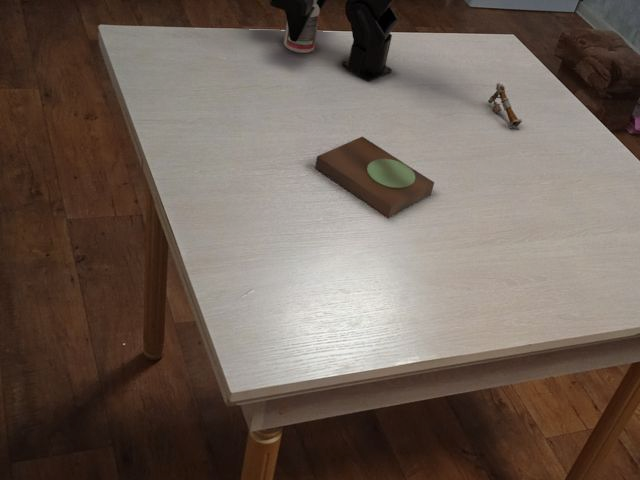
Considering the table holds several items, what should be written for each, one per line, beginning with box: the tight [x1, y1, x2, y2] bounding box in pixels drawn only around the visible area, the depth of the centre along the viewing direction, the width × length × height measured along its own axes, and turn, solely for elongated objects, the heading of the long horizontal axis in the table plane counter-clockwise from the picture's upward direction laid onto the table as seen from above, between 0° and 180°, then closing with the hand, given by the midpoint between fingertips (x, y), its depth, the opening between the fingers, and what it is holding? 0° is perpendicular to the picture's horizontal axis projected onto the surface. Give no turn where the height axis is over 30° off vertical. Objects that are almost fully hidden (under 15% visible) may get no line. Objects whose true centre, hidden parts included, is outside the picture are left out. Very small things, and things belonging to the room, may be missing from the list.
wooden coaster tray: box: [314, 136, 435, 218], centre depth 118 cm, size 10×14×2 cm
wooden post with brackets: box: [487, 82, 523, 129], centre depth 140 cm, size 2×8×4 cm, turn 30°
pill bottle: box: [283, 0, 321, 54], centre depth 140 cm, size 5×5×10 cm
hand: (300, 33), depth 142 cm, fingers closed on pill bottle, 6 cm apart
